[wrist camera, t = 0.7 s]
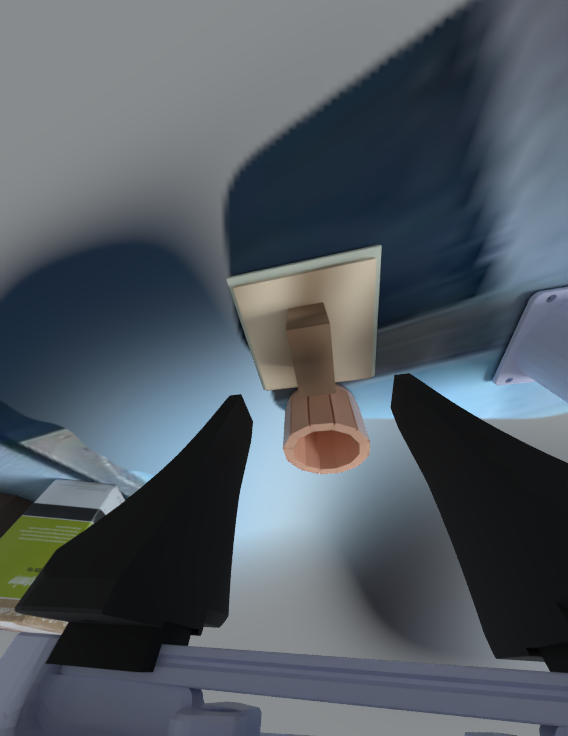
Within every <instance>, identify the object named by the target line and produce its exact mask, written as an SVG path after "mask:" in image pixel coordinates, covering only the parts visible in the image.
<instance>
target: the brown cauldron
mask: <svg viewBox="0 0 568 736" xmlns="http://www.w3.org/2000/svg"><path fill="white" fill-rule="evenodd" d="M32 504H33V502H30V501H28V500H25V499H23V498H20V497H18V496H14V495H8V494H3V493H0V538H1V537H2V536H3V535H4V534H5V533H6V532H7V531H8V530H9V529H10V528H11V527H12V525H13V524H14V523H15V522H16V521H17V520H18V519H19V518H20V517H21V516H22V515H23V514H24V513H25V512H26V510H27V509H28V508H29V507H30V506H31V505H32Z"/></svg>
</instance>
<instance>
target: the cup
mask: <svg viewBox="0 0 568 736" xmlns="http://www.w3.org/2000/svg"><path fill="white" fill-rule="evenodd" d="M335 388H336V393H333V394H325V395H316V396H307V397H300V395H299V390H298V389H296V390H295V391H294V392H293V393H292V394H291V395H290V397H289V399H288V401H287V408H286V410H285V426H284V442H283V450H284V453H285V455H286V459H287V460H288V461H289V462H290V463H292V464H293V465H294V466H296V467H297V468H299V469H301V470H304V471H308V472H313V473H317V474H318V473H320V474H328V473H339V472H343V471H346V470H349V469H351V468H354V467H357V465H358V466H359V465H360V464H361V463H362V462H363V461H364V460H365V459H366V458H367V457H368V456H369V454H370V440H369V437H368V434H367V431H366V428H365V425H364V422H363V419H362V416H361V413H360V410H359V407H358V404H357V402H356V401H355V398H354V396H353V394H352V393H351V392H350V391H349V390H348V389H347V388H346V387H344V386H342V385H340V384H337V383H335Z"/></svg>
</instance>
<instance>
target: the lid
mask: <svg viewBox="0 0 568 736" xmlns="http://www.w3.org/2000/svg"><path fill="white" fill-rule="evenodd" d="M376 261H377V258H375V257H368V258H363V259H358V260H354V261H349V262H344V263H339V264H335V265H330V266H325V267H320V268H315V269H311V270H306V271H301V272H296V273H291V274H287V275H282V276H277V277H272V278H267V279H263V280H258V281H253V282H248V283H243V284H239V285H235V286H234V287H233V291H234V294H235V297H236V300H237V303H238V306H239V309H240V312H241V315H242V318H243V321H244V324H245V327H246V330H247V333H248V336H249V339H250V342H251V345H252V349H253V352H254V355H255V358H256V361H257V364H258V367H259V370H260V373H261V376H262V379H263V382H264V385H265V388H266V390H267V391H268V390H277V389H285V388H293V387H298V390H299V395H300V397H307V396H316V395H325V394H333V393H336V388H335V382H342V381H350V380H358V379H366V378H372V355H373V331H374V308H375V284H376Z"/></svg>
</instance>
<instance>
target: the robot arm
mask: <svg viewBox="0 0 568 736" xmlns="http://www.w3.org/2000/svg"><path fill="white" fill-rule="evenodd" d="M548 297H549V298H548ZM547 298H548V299H547ZM492 381H493V383H495V384H496V385H507V384H516V383H526V382H535V381H536V382H538V383H539V384H541V385H542V386H544V387H545V388H547V389H548V390H550V391H551V392H552V393H554V394H555V395H557V396H558V397H560V398H561V399H563V400H564V401H566V402H567V403H568V287H563V288H557V289H551V290H545V291H540V292H537V293H535V294H534V295H533V296H532V297H531V298H530V299H529V301H528V304H527V306H526V308H525V310H524V312H523V314H522V317H521V319H520V321H519V323H518V325H517V327H516V330H515V332H514V334H513V336H512V338H511V341H510V343H509V345H508V347H507V349H506V351H505V354H504V356H503V358H502V360H501V362H500V365H499V367H498V369H497V371H496V373H495V375H494V378H493V380H492ZM391 410H392V413H393V415H394V418H395V420H396V423H397V426H398V428H399V430H400V432H401V434H402V436H403V438H404V440H405V441H406V443H407V445H408V447H409V449H410V451H411V453H412V455H413V456H414V458H415V460H416V462H417V464H418V466H419V468H420V469H421V472H422V473H423V475H424V477H425V479H426V481H427V483H428V485H429V488H430V490H431V492H432V495H433V497H434V500H435V502H436V504H437V507H438V509H439V511H440V513H441V516H442V519H443V521H444V524H445V526H446V529H447V531H448V534H449V537H450V539H451V542H452V544H453V547H454V549H455V552H456V555H457V558H458V560H459V563H460V566H461V568H462V571H463V574H464V576H465V579H466V582H467V585H468V588H469V590H470V593H471V596H472V599H473V602H474V605H475V608H476V611H477V613H478V617H479V619H480V623H481V626H482V629H483V632H484V634H485V637H486V639H487V641H488V643H489V645H490V648H491V650H492V652H493V654H494V656H495V658H496V659H510V660H525V661H540V662H545V663H546V665H547V666H548V668H549V670H550V672H543V671H529V670H515V669H501V668H487V667H473V666H459V665H444V664H431V663H417V662H403V661H389V660H375V659H361V658H347V657H333V656H319V655H305V654H291V653H277V652H263V651H248V650H235V649H221V648H206V647H192V646H188V643H189V639H190V635H197V636H200V635H201V634H202V631H203V627H218V628H219V627H220V626H221V625H222V624H223V623H224V622H225V620H226V619H227V617H228V614H229V594H230V578H231V566H232V554H233V543H234V534H235V524H236V516H237V508H238V500H239V494H240V488H241V484H242V479H243V475H244V470H245V466H246V462H247V457H248V453H249V448H250V444H251V437H252V426H253V421H252V418H251V416H250V414H249V412H248V409H247V407H246V405H245V402H244V400H243V397H242V395H241V394H240V395H231V396H229V397H228V398H227V399H226V401H225V402H224V403H223V404H222V405H221V407H220V408H219V409H218V410H217V411H216V413H215V414H214V415H213V416H212V418H211V419H210V420H209V421H208V422H207V423H206V425H205V426H204V427H203V428H202V429H201V430H200V431H199V433H198V434H197V435H196V436H195V437H194V438H193V439H192V440H191V441H190V442H189V443H188V445H187V446H186V447H185V448H184V449H183V450H182V451H181V452H180V453H179V454H178V455H177V456H176V457H175V458H174V459H173V460H172V461H171V462H170V463H169V464H167V465H166V466H165V467H164V468H163V469H162V470H161V471H160V472H159V473H158V474H156V475H155V476H154V477H153V478H152V479H151V480H149V481H148V482H147V483H146V484H145V485H144V486H142V487H141V488H140V489H139V490H138V491H136V492H135V493H134V494H133V495H131V496H130V497H129V498H128V499H126V500H125V501H124V502H123V503H121V504H120V505H119V506H117V507H116V508H115V509H113V510H112V511H111V512H109V513H108V514H107V515H105V516H104V517H103V518H101V519H100V520H98V521H97V522H96V523H94V524H93V525H91V526H90V527H88V528H87V529H86V530H84V531H83V532H81V533H80V534H78V535H77V536H75V537H74V538H73V539H71V540H70V541H68V542H67V543H65V544H64V545H62V546H61V547H59V548H58V549H57V550H56V551H55V552H54V553H53V555H52V556H51V557H50V559H49V560H48V562H47V563H46V564H45V566H44V567H43V569H42V570H41V571H40V573H39V574H38V576H37V577H36V578H35V580H34V581H33V583H32V584H31V585H30V587H29V588H28V590H27V591H26V592H25V594H24V595H23V597H22V598H21V599H20V601H19V602H18V604H17V605H16V606H15V612H17V613H20V614H24V615H30V616H35V617H41V618H47V619H53V620H59V621H65V622H68V624H67V626H66V627H65V629H64V631H63V633H62V635H57V634H44V633H30V632H21V633H19V634H17V635H16V637H15V638H14V640H13V641H12V643H11V644H10V645H9V647H8V648H7V650H6V652H5V653H4V654H3V656H2V657H1V659H0V736H308V735H292V734H276V733H261V732H260V726H261V710H260V708H258V707H254V706H250V705H246V704H242V703H236V702H217V703H206V704H205V703H204V700H203V693H202V691H201V689H205V690H215V691H224V692H234V693H243V694H254V695H263V696H272V697H282V698H292V699H302V700H311V701H320V702H330V703H339V704H349V705H359V706H368V707H377V708H388V709H396V710H407V711H415V712H425V713H435V714H444V715H455V716H463V717H474V718H482V719H492V720H502V721H511V722H521V723H530V724H540V729H539V732H540V736H568V463H566V462H564V461H562V460H560V459H557V458H555V457H553V456H551V455H549V454H546V453H545V452H542V451H540V450H538V449H536V448H534V447H532V446H530V445H528V444H526V443H524V442H522V441H520V440H518V439H516V438H514V437H512V436H510V435H509V434H507V433H505V432H503V431H501V430H499V429H497V428H495V427H493V426H492V425H490V424H488V423H486V422H485V421H483V420H481V419H480V418H478V417H476V416H474V415H473V414H471V413H469V412H468V411H466V410H464V409H463V408H461V407H459V406H458V405H456V404H455V403H453V402H452V401H450V400H448V399H447V398H445V397H444V396H442V395H441V394H439V393H438V392H436V391H435V390H433V389H432V388H430V387H429V386H427V385H426V384H425V383H423V382H422V381H420V380H419V379H417V378H416V377H414V376H413V375H411V374H410V373H408V374H400V375H395V376H394V384H393V393H392V401H391ZM465 736H516V735H510V734H504V733H491V732H489V733H488V732H483V733H482V732H465Z"/></svg>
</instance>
